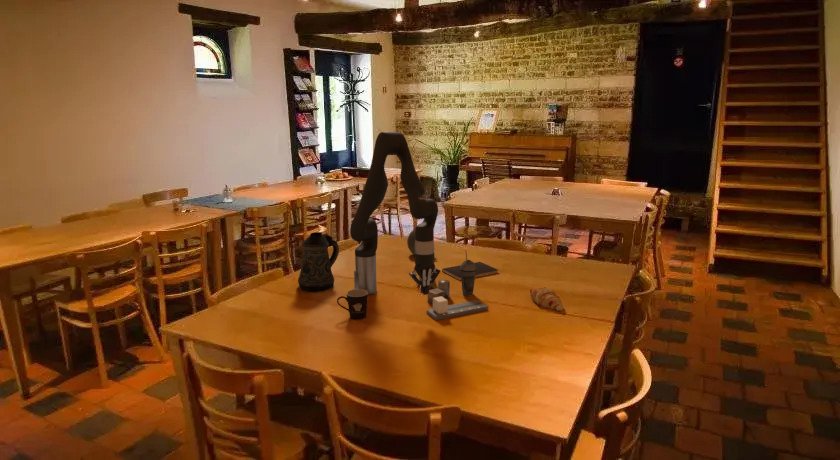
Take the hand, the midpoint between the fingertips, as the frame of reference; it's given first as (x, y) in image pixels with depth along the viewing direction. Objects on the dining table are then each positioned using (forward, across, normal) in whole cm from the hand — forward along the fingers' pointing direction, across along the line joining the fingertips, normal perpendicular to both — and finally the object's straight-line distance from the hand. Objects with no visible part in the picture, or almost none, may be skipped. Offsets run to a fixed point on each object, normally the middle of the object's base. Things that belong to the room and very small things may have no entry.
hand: (425, 294), depth 205 cm
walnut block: (+10, -12, -13) cm, 20 cm away
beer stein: (+10, +27, -56) cm, 63 cm away
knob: (+8, -7, 0) cm, 11 cm away
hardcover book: (+11, -46, -41) cm, 62 cm away
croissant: (+11, -52, +9) cm, 54 cm away
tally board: (+10, -15, 0) cm, 18 cm away
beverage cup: (+10, -29, -15) cm, 34 cm away
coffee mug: (+10, +24, -14) cm, 30 cm away
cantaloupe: (+10, -37, -79) cm, 88 cm away
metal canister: (+10, -18, -17) cm, 27 cm away
